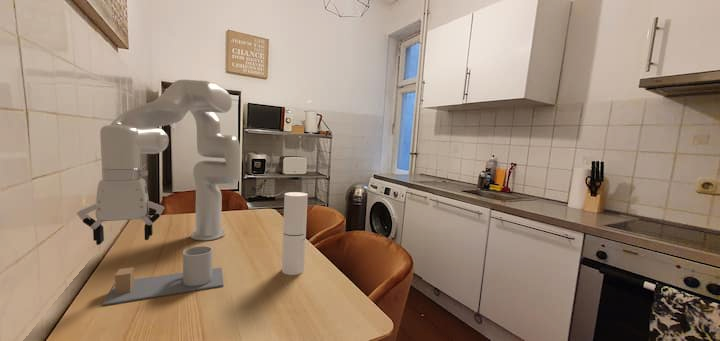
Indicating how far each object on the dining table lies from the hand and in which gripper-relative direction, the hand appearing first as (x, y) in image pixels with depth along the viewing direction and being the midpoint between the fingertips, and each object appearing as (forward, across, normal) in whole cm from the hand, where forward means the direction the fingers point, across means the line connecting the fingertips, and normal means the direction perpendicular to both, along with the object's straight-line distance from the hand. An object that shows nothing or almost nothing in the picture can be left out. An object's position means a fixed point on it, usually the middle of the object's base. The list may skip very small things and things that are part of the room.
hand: (124, 240), depth 75 cm
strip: (+14, -10, +1) cm, 17 cm away
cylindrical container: (+14, -44, +4) cm, 46 cm away
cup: (+13, -16, +1) cm, 21 cm away
